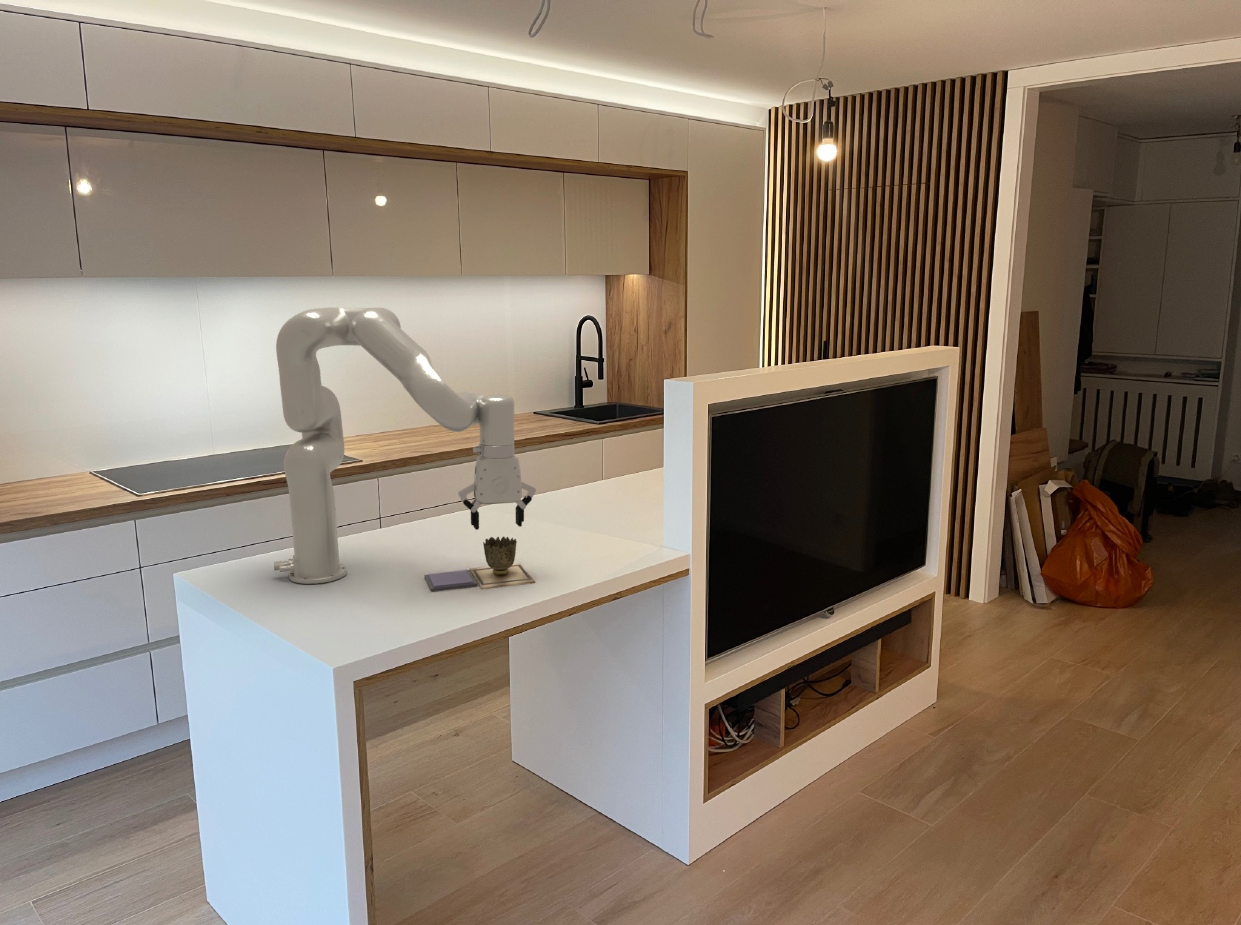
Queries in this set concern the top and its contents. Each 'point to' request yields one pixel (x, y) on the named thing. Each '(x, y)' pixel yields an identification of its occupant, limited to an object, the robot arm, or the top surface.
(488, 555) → the cup
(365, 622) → the top surface
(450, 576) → the ink pad
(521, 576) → the board
